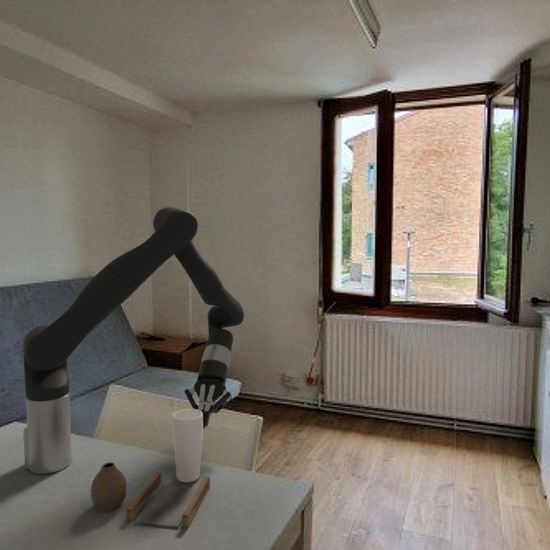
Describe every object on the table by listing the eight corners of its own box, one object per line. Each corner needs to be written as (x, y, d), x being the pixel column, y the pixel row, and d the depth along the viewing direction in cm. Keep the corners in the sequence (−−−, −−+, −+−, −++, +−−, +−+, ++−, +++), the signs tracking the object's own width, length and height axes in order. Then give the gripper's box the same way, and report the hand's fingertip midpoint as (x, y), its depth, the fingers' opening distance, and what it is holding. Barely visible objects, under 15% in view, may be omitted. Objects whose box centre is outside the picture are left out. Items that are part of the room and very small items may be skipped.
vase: (99, 495, 98) (98, 456, 97) (131, 496, 98) (131, 457, 97) (85, 515, 91) (84, 473, 91) (120, 516, 91) (119, 474, 90)
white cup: (206, 470, 109) (206, 409, 107) (198, 486, 102) (198, 421, 101) (178, 469, 110) (177, 407, 108) (168, 484, 103) (168, 419, 101)
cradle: (125, 522, 90) (125, 510, 89) (156, 482, 104) (156, 471, 104) (187, 529, 88) (187, 517, 87) (209, 487, 102) (209, 476, 102)
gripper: (188, 357, 124) (171, 419, 113) (236, 359, 122) (224, 423, 111) (194, 370, 130) (179, 431, 119) (240, 373, 128) (229, 435, 117)
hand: (201, 427), depth 115 cm, fingers closed
